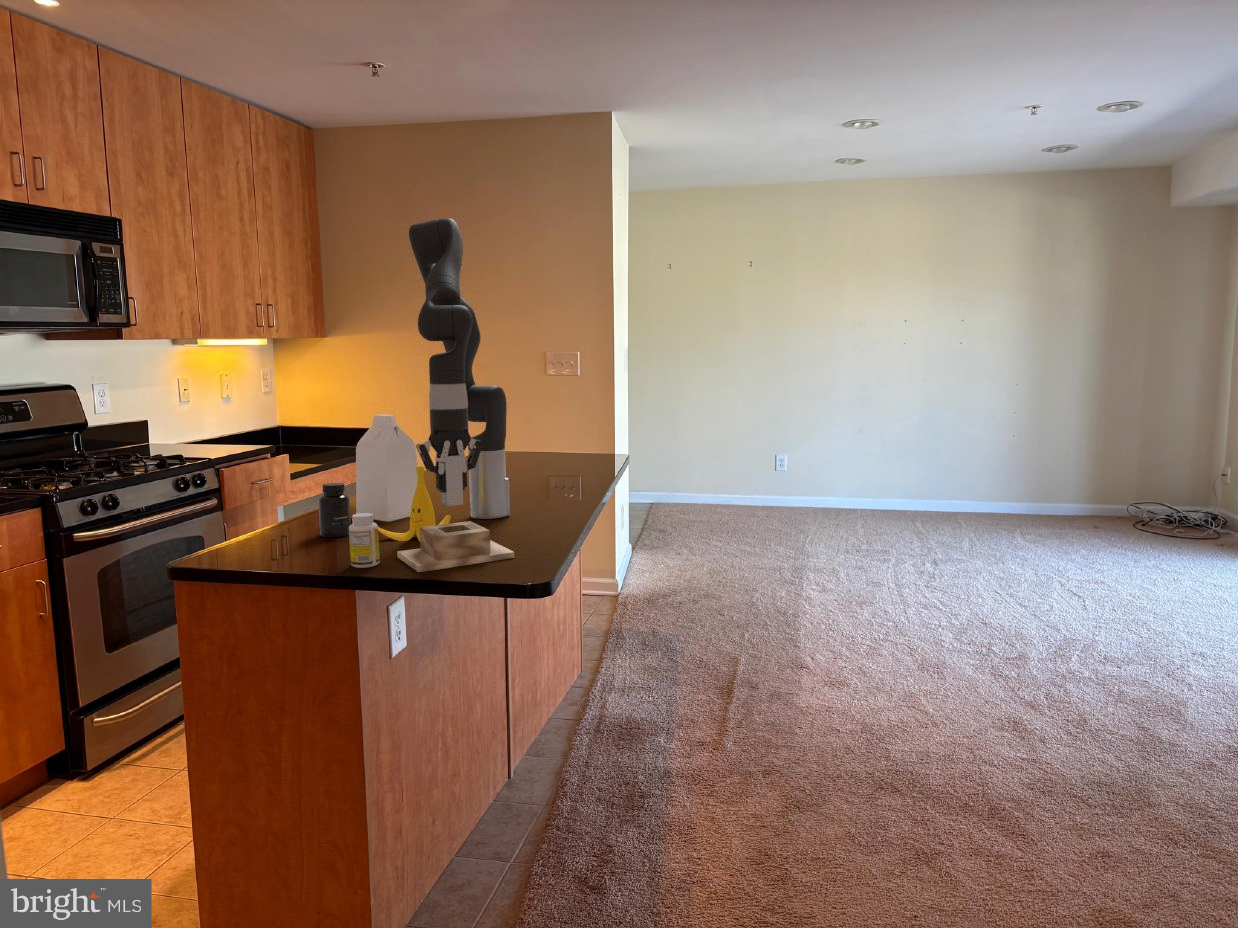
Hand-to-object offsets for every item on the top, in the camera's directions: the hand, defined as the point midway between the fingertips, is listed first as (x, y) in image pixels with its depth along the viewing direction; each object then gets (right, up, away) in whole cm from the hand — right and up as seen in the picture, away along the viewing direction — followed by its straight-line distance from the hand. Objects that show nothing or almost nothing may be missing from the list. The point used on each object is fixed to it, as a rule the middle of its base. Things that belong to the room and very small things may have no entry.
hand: (451, 490), depth 169 cm
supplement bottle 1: (-32, -11, +24) cm, 42 cm away
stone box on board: (0, -14, +2) cm, 14 cm away
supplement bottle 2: (-17, -15, -3) cm, 23 cm away
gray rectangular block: (0, -3, 0) cm, 3 cm away
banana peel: (-10, -11, +23) cm, 27 cm away
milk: (-26, -8, +47) cm, 54 cm away
